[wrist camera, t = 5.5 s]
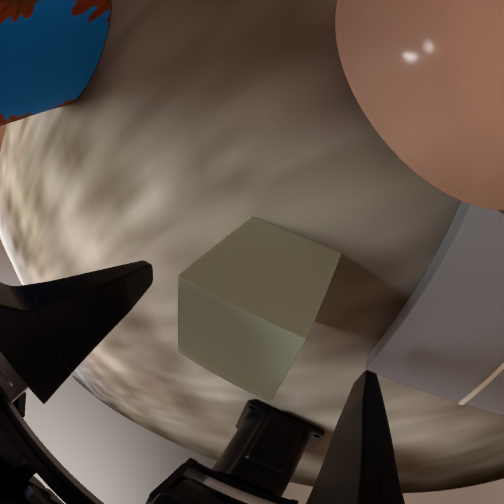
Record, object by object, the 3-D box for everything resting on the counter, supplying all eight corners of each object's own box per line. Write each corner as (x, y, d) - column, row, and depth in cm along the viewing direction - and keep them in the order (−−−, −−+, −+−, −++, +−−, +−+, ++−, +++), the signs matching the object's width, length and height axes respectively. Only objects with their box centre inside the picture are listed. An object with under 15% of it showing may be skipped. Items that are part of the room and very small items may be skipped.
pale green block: (310, 319, 13) (269, 402, 9) (238, 285, 14) (178, 352, 10) (341, 253, 11) (306, 339, 7) (253, 215, 12) (178, 275, 8)
